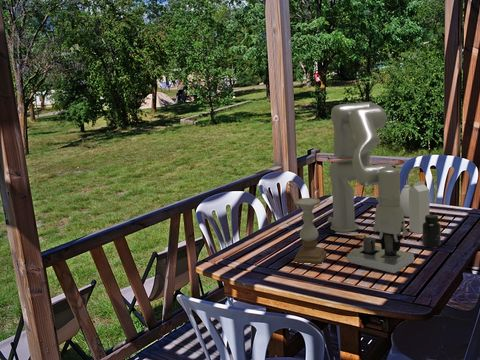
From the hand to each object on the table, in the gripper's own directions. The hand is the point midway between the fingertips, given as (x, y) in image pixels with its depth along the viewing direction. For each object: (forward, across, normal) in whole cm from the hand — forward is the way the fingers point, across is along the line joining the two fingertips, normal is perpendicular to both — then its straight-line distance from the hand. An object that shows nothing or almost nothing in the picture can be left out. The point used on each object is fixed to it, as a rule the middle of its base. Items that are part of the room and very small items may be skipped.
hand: (390, 249), depth 193 cm
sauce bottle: (+6, -25, +57) cm, 62 cm away
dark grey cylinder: (+2, 0, 0) cm, 2 cm away
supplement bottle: (+6, +2, +27) cm, 28 cm away
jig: (+6, -5, 0) cm, 7 cm away
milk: (+6, -10, +40) cm, 42 cm away
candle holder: (+6, -28, -13) cm, 31 cm away
